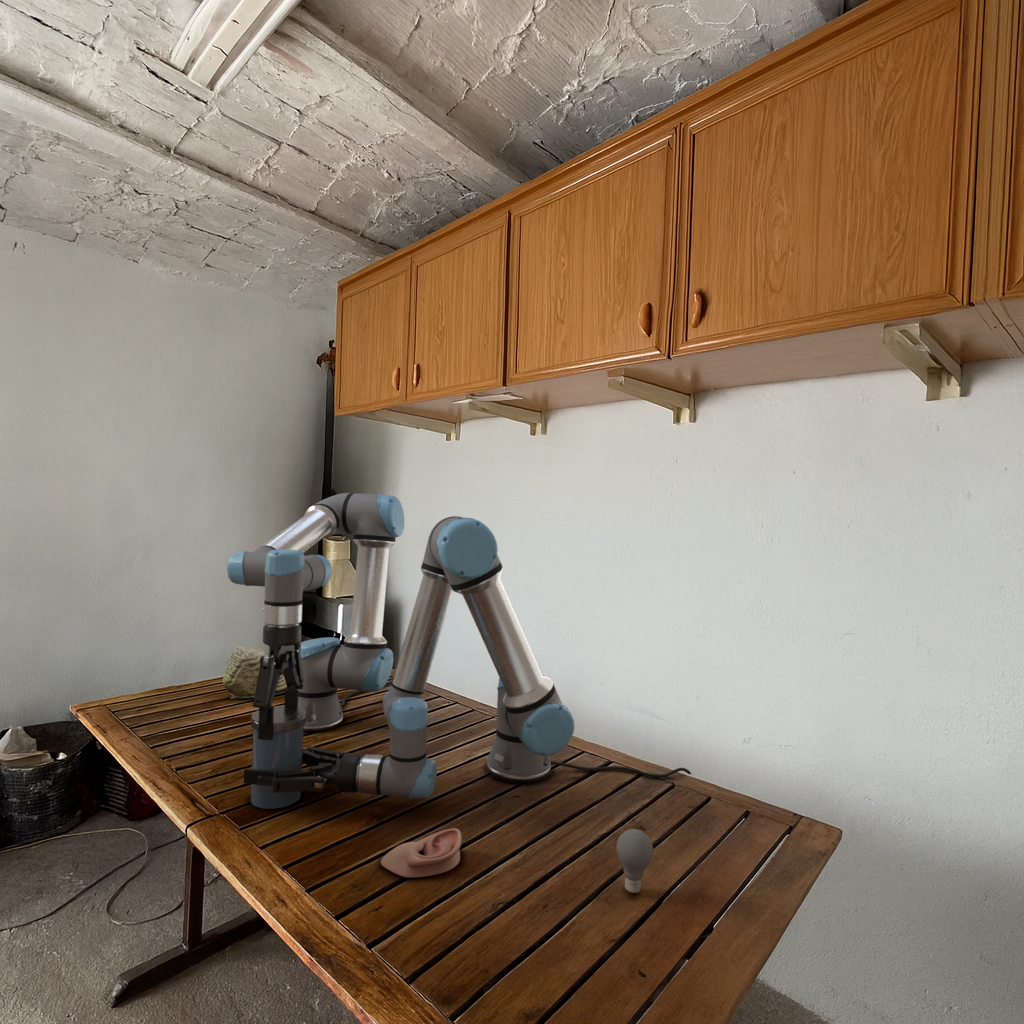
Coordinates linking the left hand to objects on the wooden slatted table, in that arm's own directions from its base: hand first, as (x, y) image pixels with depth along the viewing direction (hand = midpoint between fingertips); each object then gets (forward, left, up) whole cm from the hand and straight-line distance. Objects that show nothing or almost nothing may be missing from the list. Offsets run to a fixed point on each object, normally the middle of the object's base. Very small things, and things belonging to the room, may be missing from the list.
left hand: (278, 729), depth 132 cm
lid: (0, 0, +3) cm, 3 cm away
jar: (0, 0, -14) cm, 14 cm away
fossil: (-32, -65, -14) cm, 74 cm away
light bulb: (-22, +71, -14) cm, 76 cm away
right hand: (+2, -4, -8) cm, 9 cm away
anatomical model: (-5, +39, -14) cm, 42 cm away
